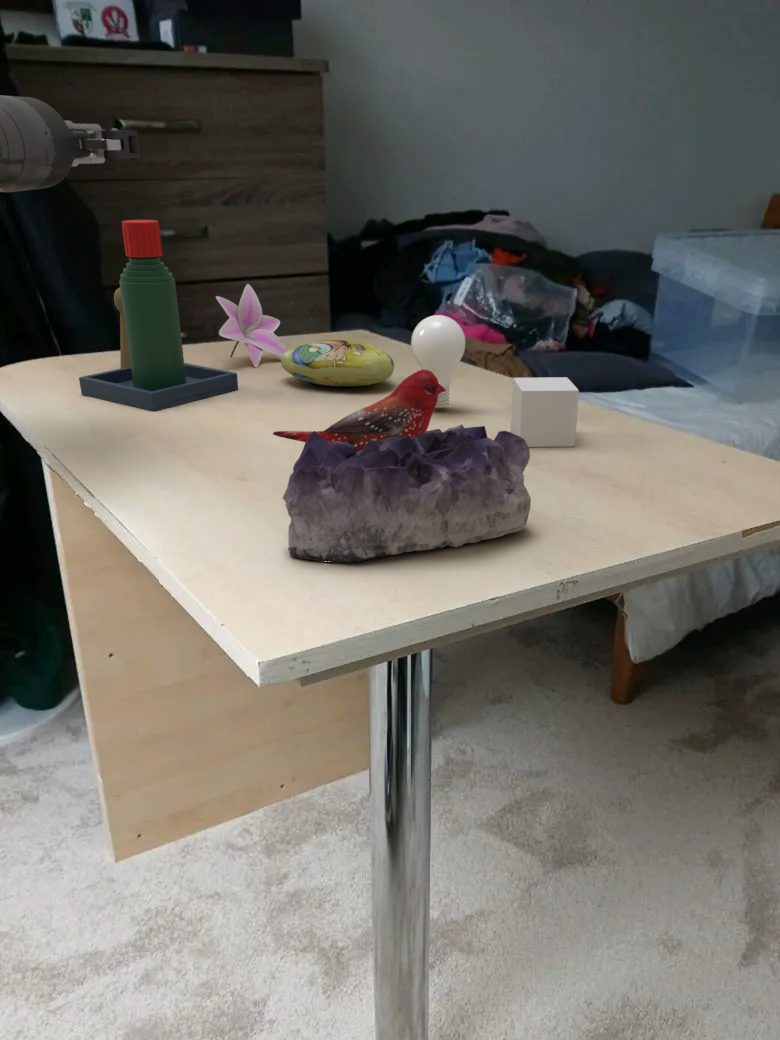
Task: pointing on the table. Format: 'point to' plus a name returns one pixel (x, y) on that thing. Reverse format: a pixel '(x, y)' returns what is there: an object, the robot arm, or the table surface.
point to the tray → (197, 387)
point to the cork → (122, 331)
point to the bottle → (152, 324)
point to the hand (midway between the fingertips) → (88, 142)
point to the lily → (251, 326)
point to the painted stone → (338, 363)
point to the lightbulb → (439, 350)
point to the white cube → (545, 411)
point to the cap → (142, 238)
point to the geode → (405, 493)
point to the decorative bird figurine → (385, 414)
